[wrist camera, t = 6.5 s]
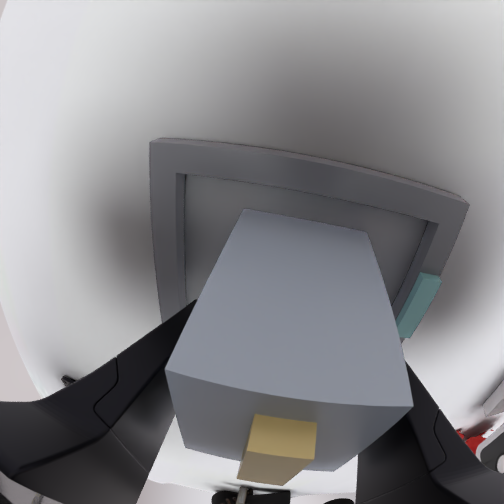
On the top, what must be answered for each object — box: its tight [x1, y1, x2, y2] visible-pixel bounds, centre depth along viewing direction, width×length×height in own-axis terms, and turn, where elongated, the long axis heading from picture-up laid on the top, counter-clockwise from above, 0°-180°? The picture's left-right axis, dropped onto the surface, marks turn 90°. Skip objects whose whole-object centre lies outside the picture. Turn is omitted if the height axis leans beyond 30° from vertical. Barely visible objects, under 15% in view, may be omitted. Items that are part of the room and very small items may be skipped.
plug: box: [165, 209, 413, 486], centre depth 8 cm, size 4×4×8 cm
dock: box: [150, 138, 469, 343], centre depth 13 cm, size 11×17×1 cm, turn 174°
